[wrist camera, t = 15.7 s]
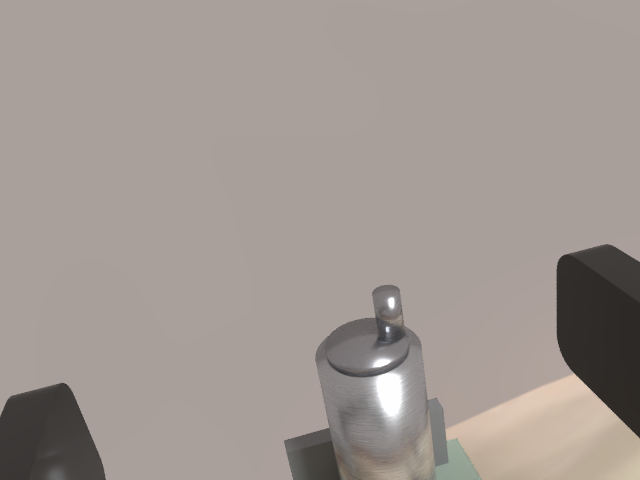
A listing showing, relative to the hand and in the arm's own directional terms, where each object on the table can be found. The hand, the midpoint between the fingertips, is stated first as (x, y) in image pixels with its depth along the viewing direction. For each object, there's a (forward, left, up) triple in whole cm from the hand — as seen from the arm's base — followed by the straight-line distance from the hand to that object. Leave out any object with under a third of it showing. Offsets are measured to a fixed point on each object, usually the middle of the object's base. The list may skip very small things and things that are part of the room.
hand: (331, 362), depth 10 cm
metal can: (+4, +18, -27) cm, 33 cm away
